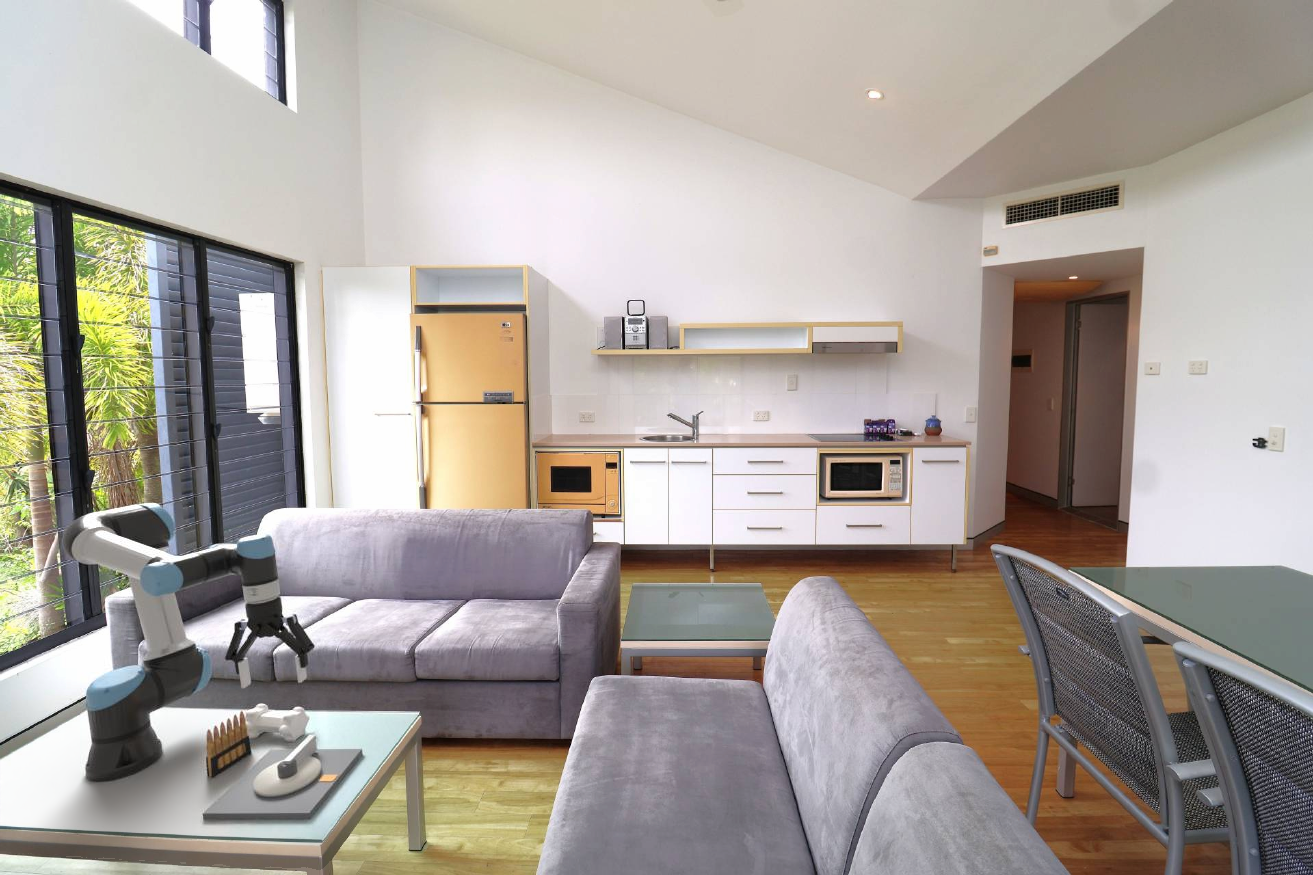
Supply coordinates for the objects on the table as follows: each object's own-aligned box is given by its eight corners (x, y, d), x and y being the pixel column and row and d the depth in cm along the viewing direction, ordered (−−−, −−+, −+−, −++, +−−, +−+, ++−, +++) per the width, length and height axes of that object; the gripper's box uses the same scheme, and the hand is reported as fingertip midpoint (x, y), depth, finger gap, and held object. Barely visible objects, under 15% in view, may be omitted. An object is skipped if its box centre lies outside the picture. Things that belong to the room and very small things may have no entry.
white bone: (311, 732, 178) (311, 703, 178) (287, 747, 169) (287, 716, 169) (264, 727, 181) (264, 698, 181) (239, 742, 172) (238, 712, 172)
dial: (299, 796, 147) (298, 779, 146) (239, 796, 147) (237, 779, 147) (340, 750, 165) (339, 734, 164) (287, 750, 165) (285, 734, 165)
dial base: (203, 819, 143) (202, 812, 142) (271, 754, 166) (270, 748, 166) (309, 819, 142) (309, 812, 142) (362, 754, 166) (362, 748, 165)
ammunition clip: (212, 778, 157) (207, 731, 156) (207, 777, 158) (201, 730, 157) (251, 753, 168) (247, 709, 166) (246, 752, 168) (242, 708, 167)
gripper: (200, 609, 153) (213, 695, 155) (307, 599, 154) (318, 684, 155) (220, 598, 160) (232, 681, 162) (322, 589, 161) (332, 671, 163)
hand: (274, 683), depth 159 cm, fingers open, 13 cm apart
